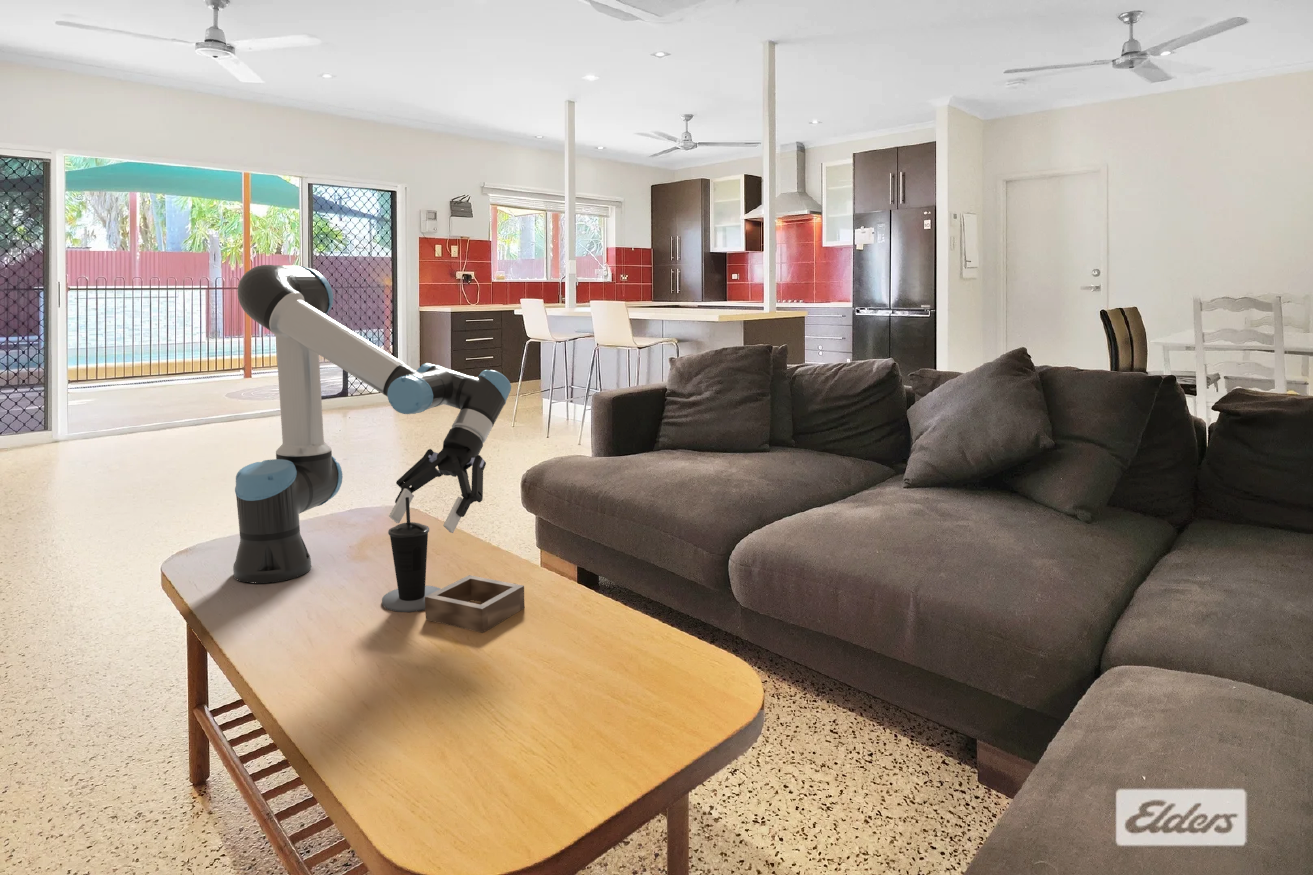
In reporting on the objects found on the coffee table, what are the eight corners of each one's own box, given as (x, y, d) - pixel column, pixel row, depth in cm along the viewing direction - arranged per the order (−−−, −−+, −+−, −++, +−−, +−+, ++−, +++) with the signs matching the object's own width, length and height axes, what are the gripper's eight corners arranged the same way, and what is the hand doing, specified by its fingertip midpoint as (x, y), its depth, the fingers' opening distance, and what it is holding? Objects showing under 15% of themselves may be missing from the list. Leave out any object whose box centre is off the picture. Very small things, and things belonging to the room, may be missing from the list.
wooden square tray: (425, 619, 153) (424, 596, 152) (470, 596, 165) (469, 575, 164) (482, 632, 148) (482, 608, 147) (524, 607, 159) (524, 585, 158)
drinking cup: (437, 589, 166) (433, 493, 162) (424, 604, 158) (419, 503, 155) (400, 588, 166) (395, 492, 163) (385, 602, 159) (379, 502, 155)
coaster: (368, 605, 160) (368, 601, 160) (411, 585, 170) (411, 581, 170) (417, 616, 155) (416, 612, 155) (458, 595, 165) (458, 591, 165)
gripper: (524, 452, 169) (481, 543, 159) (429, 440, 180) (382, 525, 169) (508, 430, 163) (462, 523, 153) (411, 420, 174) (361, 506, 164)
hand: (420, 524), depth 161 cm, fingers open, 13 cm apart
